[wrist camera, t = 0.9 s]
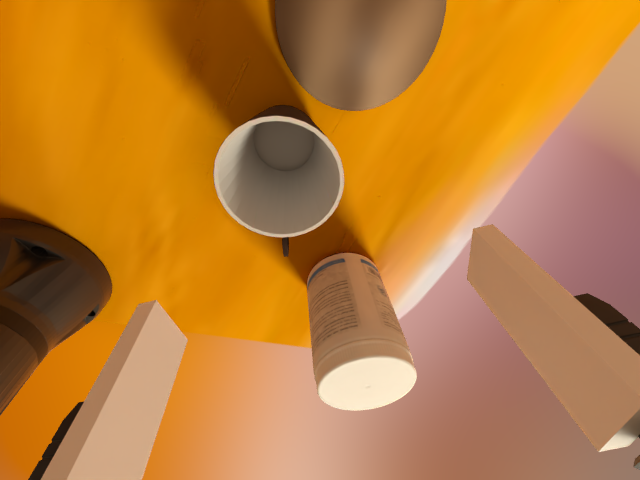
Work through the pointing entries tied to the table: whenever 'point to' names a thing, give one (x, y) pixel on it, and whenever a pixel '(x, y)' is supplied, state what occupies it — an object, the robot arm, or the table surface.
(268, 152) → the coffee mug
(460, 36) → the table surface
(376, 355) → the supplement tub
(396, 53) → the walnut base
